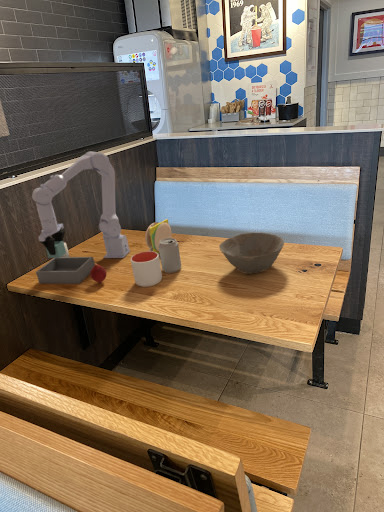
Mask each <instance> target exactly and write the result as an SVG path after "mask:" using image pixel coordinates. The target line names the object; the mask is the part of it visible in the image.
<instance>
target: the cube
mask: <svg viewBox="0 0 384 512" xmlns="http://www.w3.org/2000/svg"><path fill="white" fill-rule="evenodd" d="M64 243H65V242H64V240H63V241H55V251H56V254H55V255H50V253H49V252H48V250H47V249H46V248H45V250H46V253H47V258H49V259H53V258H60V257H61V256H63V255H64V254H65V253H66V250H65V246H64Z"/></svg>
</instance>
